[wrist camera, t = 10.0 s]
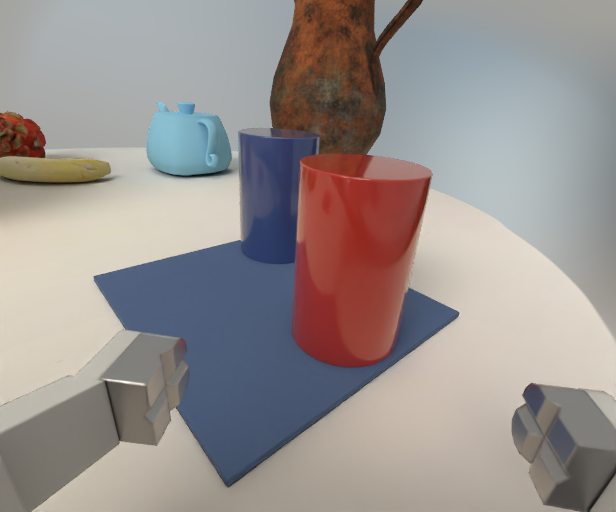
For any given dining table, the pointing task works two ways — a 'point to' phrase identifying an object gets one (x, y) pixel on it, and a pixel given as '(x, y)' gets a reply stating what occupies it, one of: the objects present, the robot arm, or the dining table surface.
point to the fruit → (52, 169)
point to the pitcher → (334, 74)
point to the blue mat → (247, 348)
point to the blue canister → (271, 190)
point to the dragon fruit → (20, 137)
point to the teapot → (187, 142)
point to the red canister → (354, 254)
